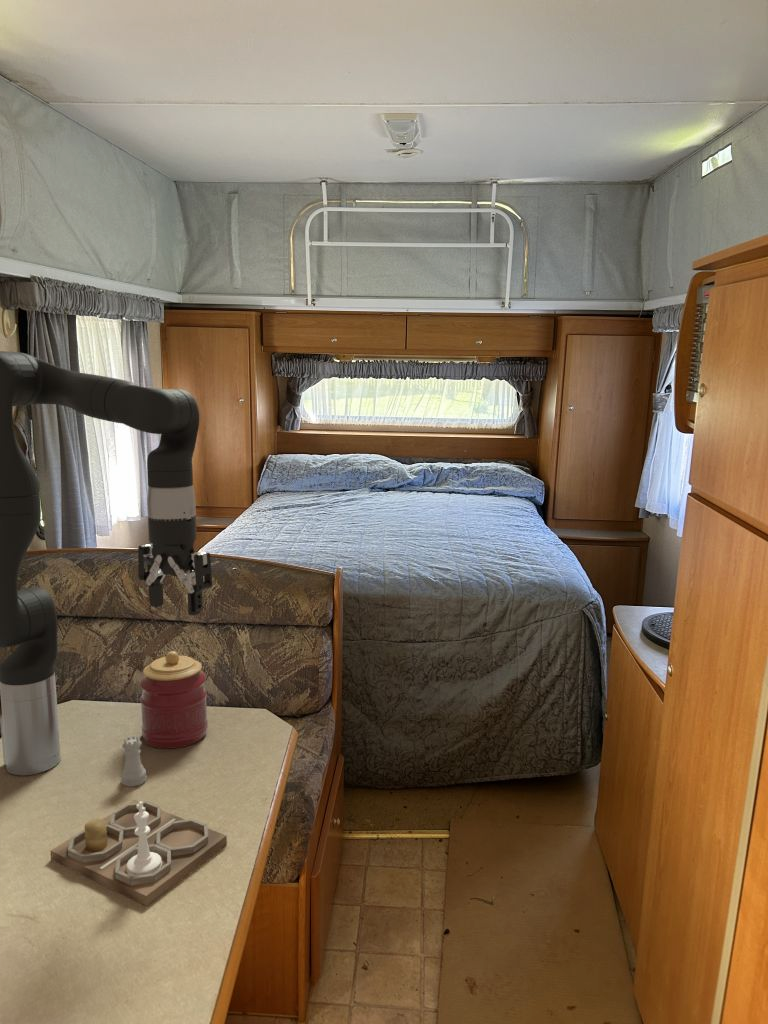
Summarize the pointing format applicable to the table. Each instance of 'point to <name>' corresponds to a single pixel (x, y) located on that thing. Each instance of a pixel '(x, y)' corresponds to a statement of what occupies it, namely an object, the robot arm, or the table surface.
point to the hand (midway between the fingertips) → (175, 610)
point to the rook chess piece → (133, 763)
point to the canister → (173, 702)
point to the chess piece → (143, 848)
